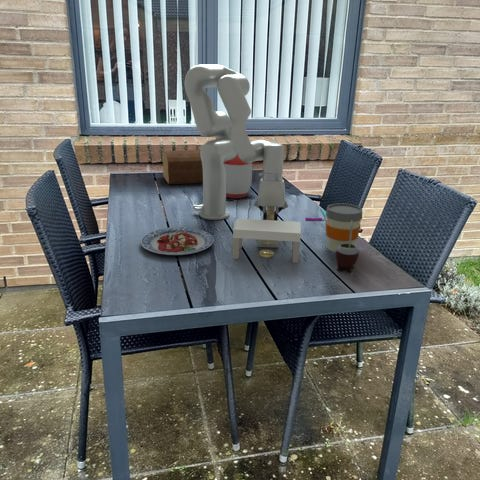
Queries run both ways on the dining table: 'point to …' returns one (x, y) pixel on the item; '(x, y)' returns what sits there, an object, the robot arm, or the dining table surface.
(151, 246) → the ceramic plate
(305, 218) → the squeegee
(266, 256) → the brass token
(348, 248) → the mate gourd
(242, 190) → the citrus juicer
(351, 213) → the reusable coffee cup
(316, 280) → the dining table surface
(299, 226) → the white bench
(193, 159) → the bread
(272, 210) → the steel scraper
